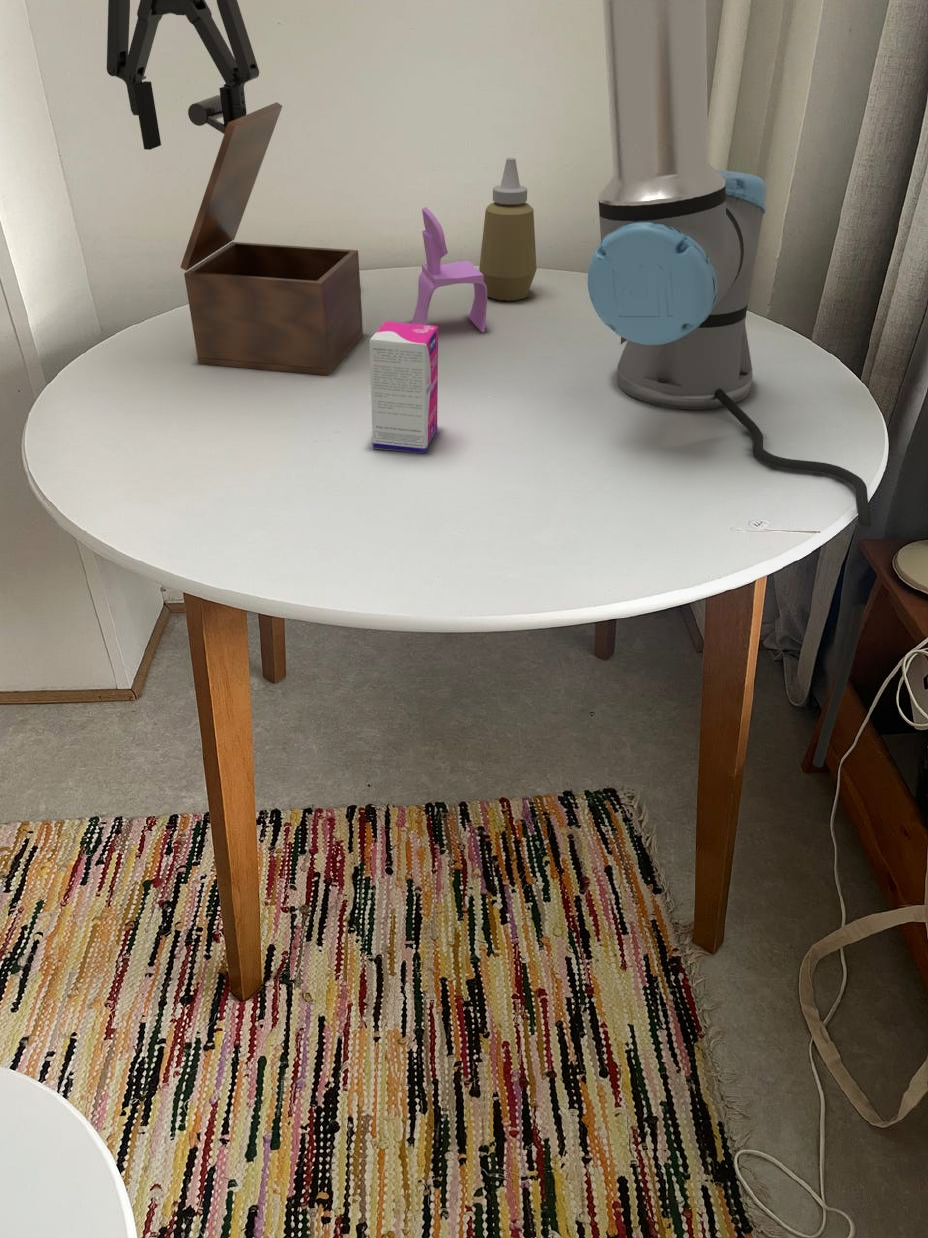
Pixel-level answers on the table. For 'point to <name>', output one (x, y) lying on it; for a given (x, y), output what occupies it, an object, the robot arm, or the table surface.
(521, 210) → the squeeze bottle
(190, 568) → the table surface
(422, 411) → the supplement box
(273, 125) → the lid
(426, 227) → the toy chair
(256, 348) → the chest
